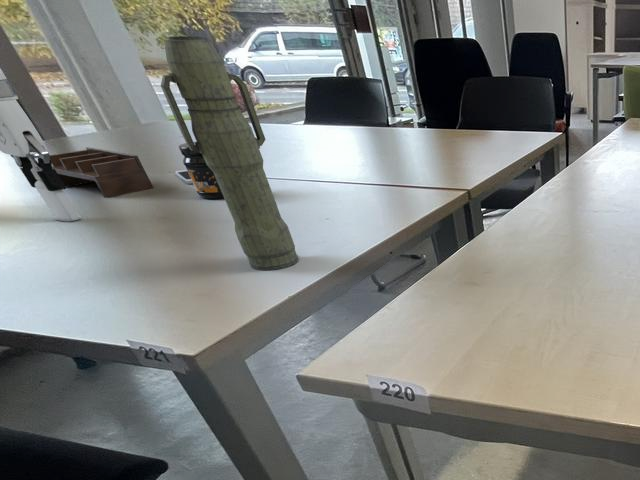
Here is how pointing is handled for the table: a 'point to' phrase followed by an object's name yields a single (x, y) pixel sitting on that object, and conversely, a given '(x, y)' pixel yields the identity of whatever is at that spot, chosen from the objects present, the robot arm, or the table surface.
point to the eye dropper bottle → (56, 201)
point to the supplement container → (200, 173)
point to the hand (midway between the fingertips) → (48, 187)
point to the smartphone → (184, 176)
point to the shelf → (102, 170)
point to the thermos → (228, 147)
